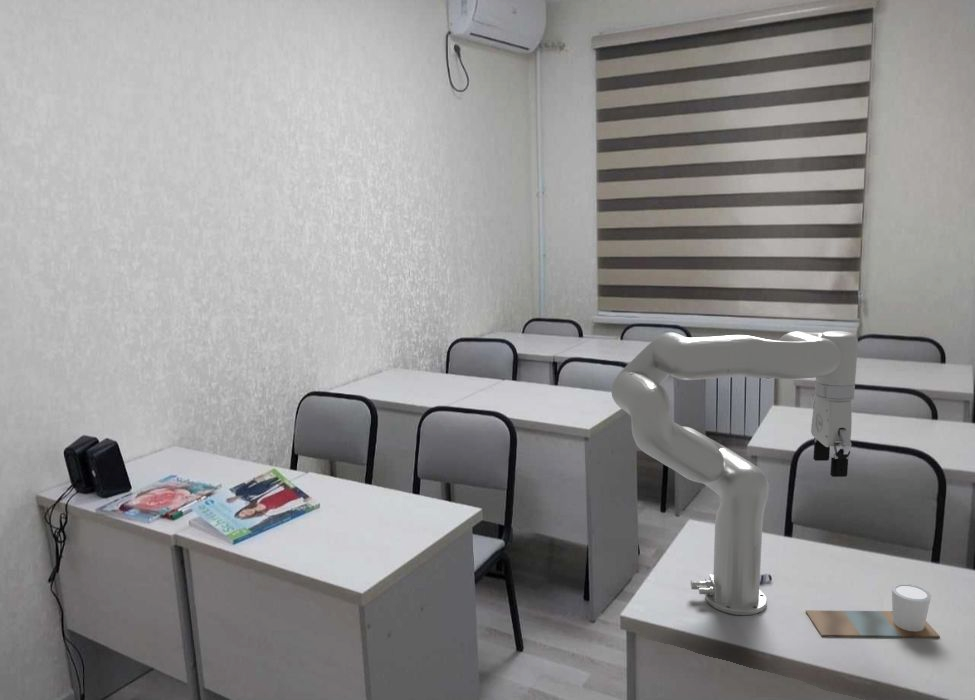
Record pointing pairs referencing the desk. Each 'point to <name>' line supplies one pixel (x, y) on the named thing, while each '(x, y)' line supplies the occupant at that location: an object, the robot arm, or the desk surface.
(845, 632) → the game board
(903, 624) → the white cup
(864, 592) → the desk surface
